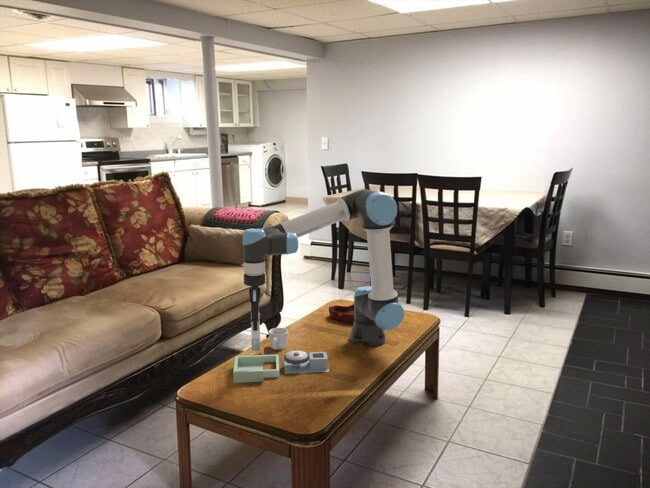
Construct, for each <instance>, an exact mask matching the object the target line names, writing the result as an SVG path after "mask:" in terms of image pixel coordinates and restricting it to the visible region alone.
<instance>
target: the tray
mask: <svg viewBox="0 0 650 488" xmlns="http://www.w3.org/2000/svg"><path fill="white" fill-rule="evenodd" d="M279 357H280V356H279V354H260V355H259V354H258V355H257V354H255V355H235V357H234V364H233V371H232V373H233V376H232V377H233V384H240V383H244V384H245V383H258V382H259V383H261V382H264V380H265V378H266V379H267V378H280V358H279ZM265 363H275V368H274V369H273V368H272V369H265Z"/></svg>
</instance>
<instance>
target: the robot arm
mask: <svg viewBox="0 0 650 488" xmlns="http://www.w3.org/2000/svg"><path fill="white" fill-rule="evenodd" d="M397 214H398V205H397V202H396V200H395V199H394V198H393V196H391V195H389V194H388V193H386V192H384V191H377V190H371V189H366V188H365V189H361V190H357V191H354V192H351V193H349V194H346V195H343V196H341V197H338V198H337V200H336V201H335V202H332V203H330V204H327V205H324V206H322V207H320V208H316V209H315V210H311V211H309V212H306V213H304V214H301V215H299V216H296V217H293V218H291V219H288V220H286V221H283V222H281V223H279V224H274V225H271V226H269V225H266V226H263V227H262V228H248V229H245V230H244V231H243V233H242V252H243V253H242V254H243V255H242V258H243V263H242V264H241V267H242V268H243V273H244V274H243V284H244V285H245V286H249V287H248V295H249V302H250V319H249V323H250V327H251V326H252V339H259V317H261V316H262V314H261V313H260V301H261V287H260V286H263V285H265V284H266V256H267V257H268V256H269V257H270V256H280V255H291V254H296V253H297V252H298V250H299V239H298V238H301V237H303V236H305V235H308V234H311V233H313V232H315V231H318V230H321V229H323V228H326V227H328V226H331V225H333V224H337V223H338V222H341V221H345V222H348V221H351V220H355V219H361V226H362V230H364V231H365V232H366V239H367V251H368V265H369V274H370V285H368V286H367V285H366V286H360V287H356V288H355V290H354V295H353V304H354V324H352V327H351V330H350V331H349V332H350V333H349V341H350V342H351V343H352V344H362V346H363V347H375V346H376V347H377V346H380V345H382V344H384V343H385V342H386V333H385V331H392V330H394V329H396V328H398V326H400V325H401V323H402V322H403V320H404V318H405V309H404V308H403V306H402V304H400V303H399V294H398V292H397V291H396V290H395V289H394V280H393V279H394V277H393V263H392V250H391V238H390V237H391V236H390V235H391V234H390V230H391V229H392V228H393V227H394V222H393V221H394V220H395V218H396V217H397ZM258 309H259V310H258ZM251 318H252V319H251ZM252 339H251V340H252Z"/></svg>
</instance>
